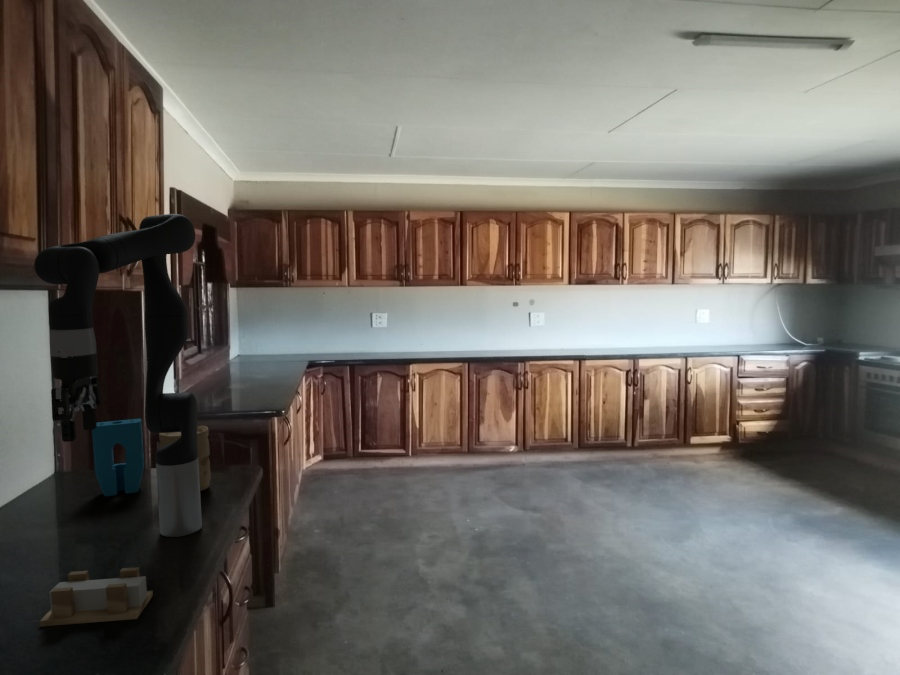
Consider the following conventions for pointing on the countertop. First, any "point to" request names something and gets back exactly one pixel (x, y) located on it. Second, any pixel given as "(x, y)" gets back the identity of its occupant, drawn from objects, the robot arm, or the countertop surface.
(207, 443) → the container
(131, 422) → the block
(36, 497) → the countertop surface
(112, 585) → the rack
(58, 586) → the clay bar
